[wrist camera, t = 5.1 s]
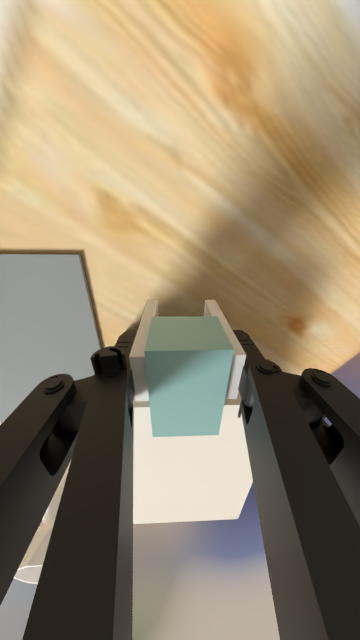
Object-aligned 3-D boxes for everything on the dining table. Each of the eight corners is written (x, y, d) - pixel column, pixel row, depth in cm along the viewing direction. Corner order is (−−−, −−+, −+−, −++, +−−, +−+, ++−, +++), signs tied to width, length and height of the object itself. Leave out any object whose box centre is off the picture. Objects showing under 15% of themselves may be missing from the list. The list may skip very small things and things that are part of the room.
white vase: (56, 447, 29) (-10, 572, 19) (104, 434, 28) (63, 559, 18) (87, 472, 33) (46, 588, 23) (130, 461, 32) (109, 579, 22)
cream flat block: (73, 309, 10) (22, 352, 7) (289, 308, 11) (345, 348, 7) (126, 497, 22) (117, 551, 18) (231, 492, 22) (243, 544, 19)
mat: (-108, 253, 16) (-114, 253, 16) (80, 254, 16) (78, 254, 16) (7, 426, 27) (5, 429, 26) (118, 424, 27) (117, 426, 27)
